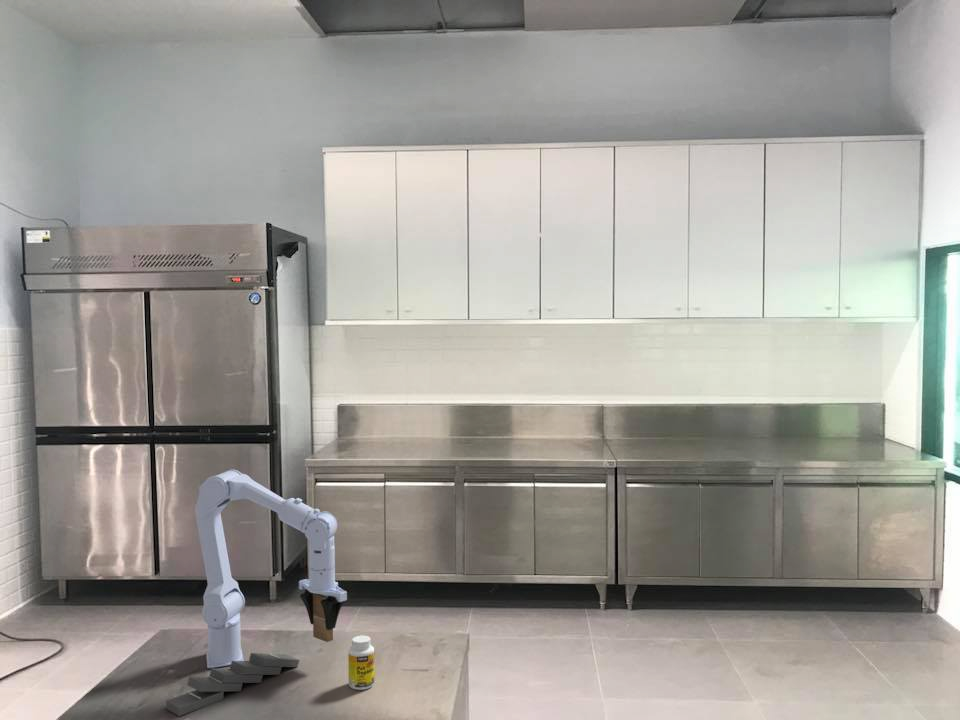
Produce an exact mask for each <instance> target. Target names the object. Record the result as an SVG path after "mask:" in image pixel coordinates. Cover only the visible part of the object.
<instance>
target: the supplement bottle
mask: <svg viewBox="0 0 960 720" xmlns="http://www.w3.org/2000/svg"><path fill="white" fill-rule="evenodd" d="M371 643H372V641H371V637H370V636H368V635H357V636H355V637H353V638H352V639H351V646H350V647H349V648H348V652H347V653H348V685H349V687H350V688H351V689H353V690H358V691H365V690H367V689H370V688H372V687H373V686H374V684H375V648H374V646H373V645H372V644H371Z"/></svg>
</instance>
